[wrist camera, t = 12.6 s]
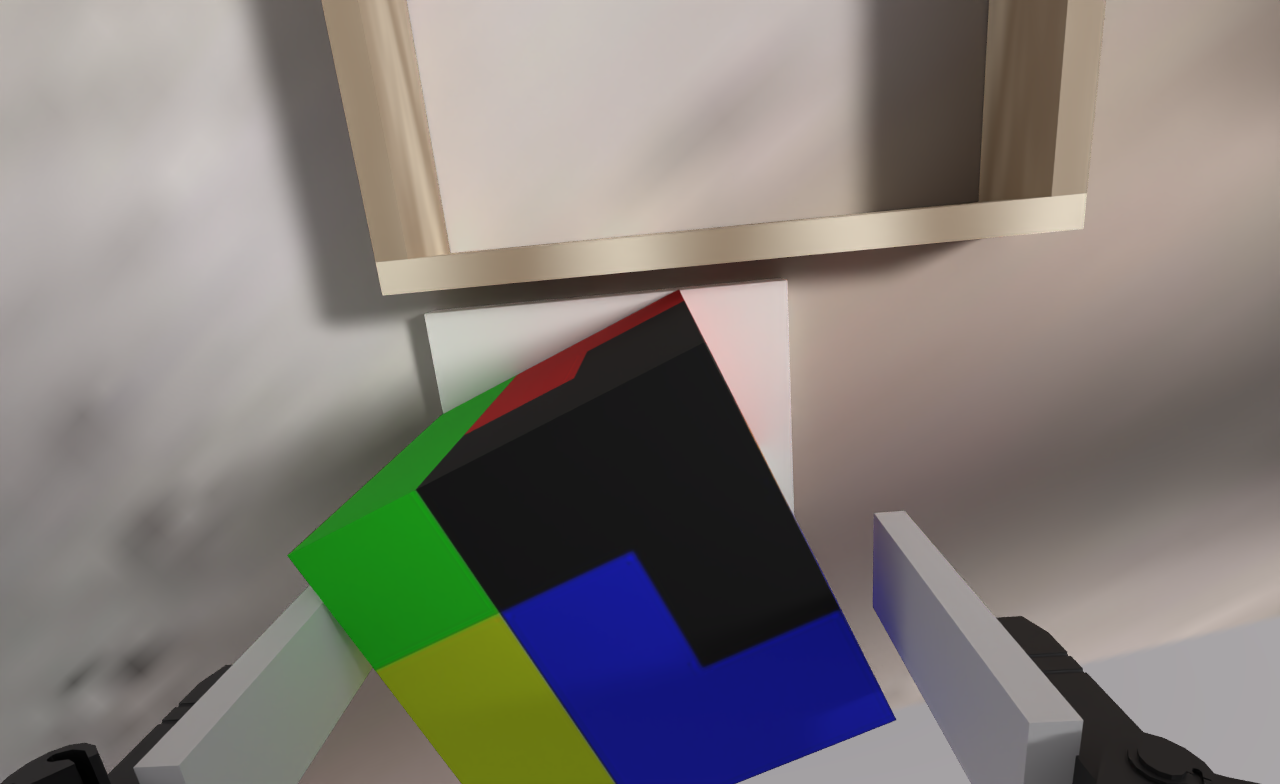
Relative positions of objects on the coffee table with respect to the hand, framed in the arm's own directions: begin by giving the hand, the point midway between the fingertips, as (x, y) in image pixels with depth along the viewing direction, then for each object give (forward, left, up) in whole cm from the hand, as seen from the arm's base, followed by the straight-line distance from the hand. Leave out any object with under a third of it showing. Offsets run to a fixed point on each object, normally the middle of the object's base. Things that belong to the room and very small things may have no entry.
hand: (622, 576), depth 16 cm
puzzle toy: (0, 0, -8) cm, 8 cm away
